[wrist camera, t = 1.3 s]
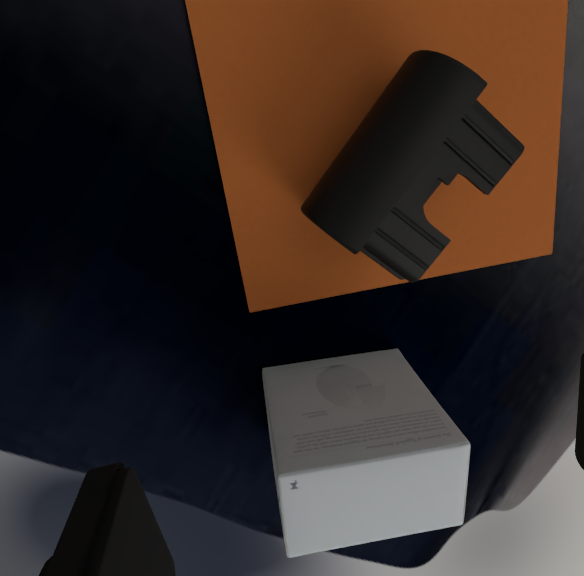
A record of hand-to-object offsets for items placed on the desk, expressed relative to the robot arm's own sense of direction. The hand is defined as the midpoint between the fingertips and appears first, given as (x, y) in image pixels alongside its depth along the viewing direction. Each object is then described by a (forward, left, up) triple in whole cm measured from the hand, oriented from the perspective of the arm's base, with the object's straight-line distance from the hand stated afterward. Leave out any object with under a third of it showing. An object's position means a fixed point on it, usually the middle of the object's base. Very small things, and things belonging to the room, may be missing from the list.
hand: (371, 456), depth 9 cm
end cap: (-3, +7, -21) cm, 22 cm away
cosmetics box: (+13, +2, -21) cm, 25 cm away
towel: (-5, +8, -21) cm, 23 cm away
